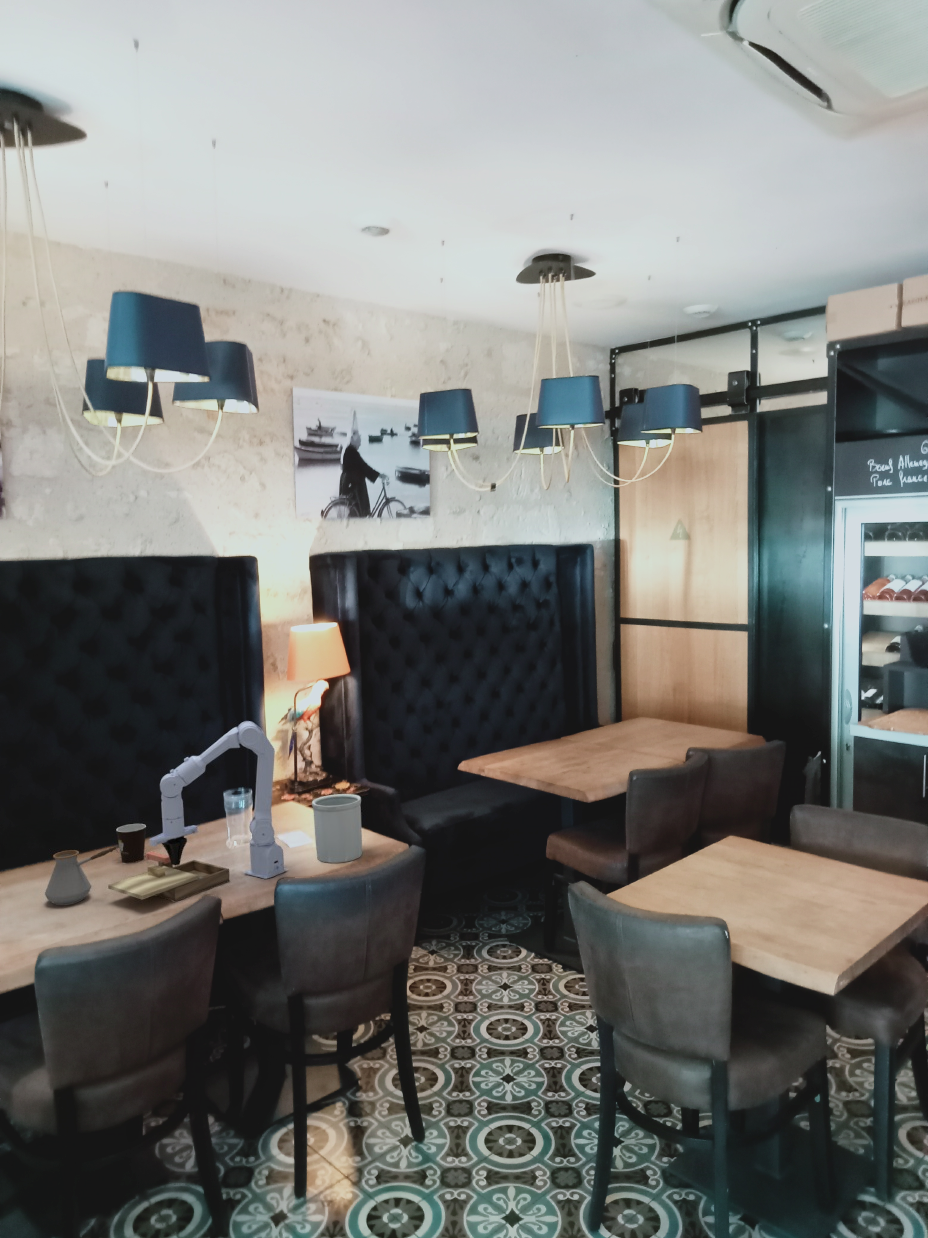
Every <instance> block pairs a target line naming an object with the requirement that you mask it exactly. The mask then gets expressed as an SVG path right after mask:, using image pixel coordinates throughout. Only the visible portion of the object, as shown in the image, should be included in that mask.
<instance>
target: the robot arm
mask: <svg viewBox="0 0 928 1238" xmlns="http://www.w3.org/2000/svg"><path fill="white" fill-rule="evenodd" d="M240 744H241V746H243V747H245V748H246V749H248V750H251V751H252V752H253V753H254V754H256V755H257V764H256V765H257V766H256V780H255V781H256V782H255V798H254V811H253V814H252V815H253V817H252V819H251V821H250V823H249V826H248V827H249V831H250V833H251V837H252V838H251V840H249V854H250V855H249V856H250V869H248V870H246V871H244V874H246V875H249V876H254V877H257V878H261V879H264V880H267V879H270V878H272V877H275V876H277V875H280V874H283V873H285V872H287V868H285V859H284V850H283V848H282V846H281V845H279V844H277V843H276V838H275V828H274V827H273V824H272V823H273V819H272V817H273V816H272V802H273V801H272V800H273V787H274V786H273V784H274V771H275V770H274V769H275V768H274V767H275V748H274V746H273V744H272V743H271V741H270V740H269V738H268V737H267V735H266V734H265V732H264V731H263V729H262V727H260V726H259V725H257V724H256V723H255V722H253V721H249V720H245V721H243V722H241V723H240V724H238V726H235V727H233V728H232V729H230V730H229V731H228V732H227V733H225V734H224V735H223V736H221V737H220V738H219V739H218V740H217V741H216V742H214V743H213V744H212V745H211V746H209V747H208V748H207V749H205V751H203V752H202V753H201V754H200V755H191V756H190V757H189V756H187V757H185V758H184V759H183V761H184V762H182V763H181V764H180V765H178V766H177V767H176V768H175V769H174V768H172V769H170V770H169V773H167V774H165V775H164V776H162V778H161V780H160V783H159V790H160V792H161V795H160V796H161V797H160V798H161V818H162V819H161V820H162V821H161V822H162V833H160V834H157V835H156V836H153V837H151V838H149V839H148V840H149V841H148V842H149V846H150V847H157V846H159V845H160V844H161V845H162V846H163V847H164V849H165V851H166V853H167V854H168V855H167V856H169V858H170V861H171V864H172V865H173V866H177V865H180V864H181V860H182V855H183V852H184V849H185V846H186V845H187V843H188V838H187V837H185V836H189V835H192V834H197V833H198V832H199V831H198V825H188V826H185V819H184V818H185V817H184V804H183V803H184V801H183V799H182V791H183V787H187V786H188V785H190V784H191V783H193V781H195V780H196V779H197V778H198V777H200V776H201V775H203V773H205V772H206V766H207V765H208V764H210V763H211V762H212V761H213V760H215V759H217V758H218V757H219V756H220V755H222V754H223V753H225V752H226V751H228V750H229V749H239V748H241V746H240Z"/></svg>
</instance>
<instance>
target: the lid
mask: <svg viewBox="0 0 928 1238" xmlns="http://www.w3.org/2000/svg"><path fill="white" fill-rule="evenodd" d="M197 879H198V875H195V874H191V873H188V872H184V871H180V870H177V869H173V868H169V867H166V866H163V867H161V866H158V865H156V864H151V865H148V866H147V871H146V872H143V873H139V874H137V875H134V876H131V877H128V878H125V879H122V880H118V881H116V882H114V883H110V884H108V888H107V889H108V890H111V891H114V892H118V893H121V894H124V895H127V896H129V897H134V898H136V899H140V900H145V899H147V898H149V897H153V896H156V894H159V893H161V892H164V891H167V890H170V889H172V888H175V887H178V886H180V885H183V884H186V883H189V882H191V881H194V880H197Z"/></svg>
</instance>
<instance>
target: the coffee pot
mask: <svg viewBox="0 0 928 1238" xmlns="http://www.w3.org/2000/svg"><path fill="white" fill-rule="evenodd" d="M118 848H119V845H116V846H115V845H114V846H113V847H109V848H108V849H105V850H102V851H99V852H98V853H96V854H94V855H92V856H90V857H88V858H86V859H83V860H81V861H78V860H77V859H78V855H79V854H80V851H79V850H75V849H74V850H72V849H71V850H70V849H69V850H62V851H60V852H59V851H58V852H57V853H56V852H55V854H53V856H52V858H53V859H54V860H55V866H54V868H53V871H52V874H51V876H50V879H49V881H48V884H47V887H46V890H45V892H44V895H45V898H46V900H48V901H49V902H51V903H53V905H56V906H68V905H74V904H76V903H79V902H81V901H83V900H84V899H85V897H86V896H87V895H88V894H89V893H90V891H91V889H92V884H91V882H90V881H89V879H88V877H87V876H86V873H85V872H84V870H83V868H82V866H81V865H83V864H86V863H88V862H90V861H93V860H96V859H98V858H101V857H103V856H106V855H107V854H109V853H112V852H114V850H115V851H116V852H117V853H118V854H121V852H120V851H118ZM120 848H121V847H120ZM120 848H119V849H120ZM121 851H122V849H121Z"/></svg>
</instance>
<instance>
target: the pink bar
mask: <svg viewBox="0 0 928 1238" xmlns="http://www.w3.org/2000/svg"><path fill="white" fill-rule="evenodd" d="M144 859H145V860H148V861H149V860H150V861H153V862H157V863H158V861H162V862H163V863H164V864H166V863H169V862H171V861H170V858H169V855H166V854H162V853H158V852H155V851H154V850H151V851H149V852H146V853H145V852H144Z"/></svg>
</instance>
